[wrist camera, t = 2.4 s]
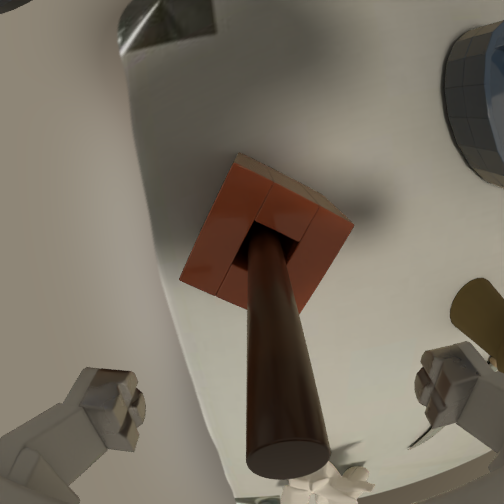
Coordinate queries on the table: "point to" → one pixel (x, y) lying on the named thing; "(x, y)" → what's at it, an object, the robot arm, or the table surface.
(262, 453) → the stick
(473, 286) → the pepper shaker
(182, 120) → the table surface
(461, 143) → the bowl
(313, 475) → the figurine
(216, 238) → the holder
